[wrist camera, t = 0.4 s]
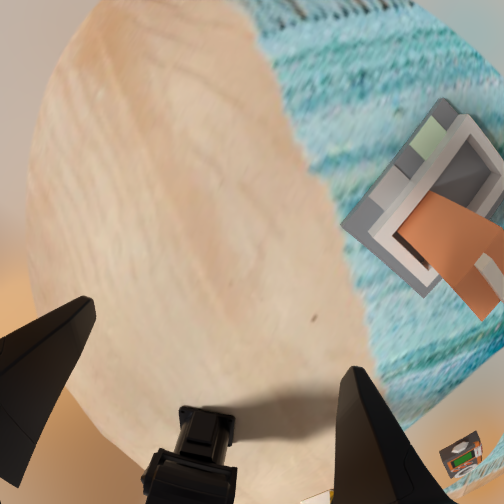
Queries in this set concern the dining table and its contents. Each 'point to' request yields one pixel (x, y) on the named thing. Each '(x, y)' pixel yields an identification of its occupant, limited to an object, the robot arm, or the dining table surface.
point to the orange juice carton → (459, 249)
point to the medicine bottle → (320, 498)
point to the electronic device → (462, 455)
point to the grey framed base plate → (421, 181)
